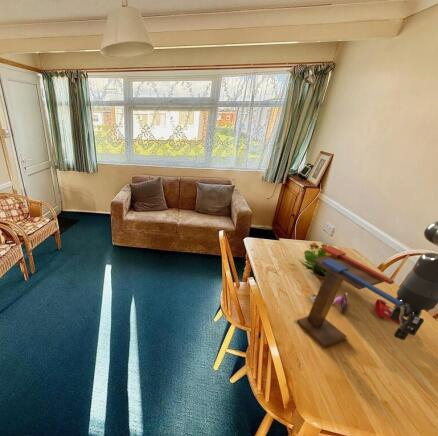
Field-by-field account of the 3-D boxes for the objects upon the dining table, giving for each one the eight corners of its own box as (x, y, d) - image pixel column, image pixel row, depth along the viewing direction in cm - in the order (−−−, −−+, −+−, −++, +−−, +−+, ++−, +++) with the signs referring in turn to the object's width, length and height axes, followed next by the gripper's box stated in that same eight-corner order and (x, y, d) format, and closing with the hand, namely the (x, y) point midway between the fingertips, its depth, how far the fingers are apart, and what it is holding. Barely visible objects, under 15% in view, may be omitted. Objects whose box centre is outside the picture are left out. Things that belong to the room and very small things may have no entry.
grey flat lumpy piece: (318, 295, 113) (319, 292, 112) (332, 307, 106) (333, 304, 105) (305, 296, 112) (307, 293, 111) (319, 309, 105) (320, 306, 104)
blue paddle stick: (405, 304, 66) (407, 301, 66) (395, 308, 65) (397, 305, 64) (330, 261, 85) (331, 258, 85) (321, 263, 84) (322, 260, 83)
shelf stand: (352, 342, 90) (389, 278, 76) (326, 352, 86) (359, 287, 73) (314, 311, 104) (340, 253, 90) (290, 319, 100) (313, 259, 86)
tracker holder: (409, 320, 98) (396, 320, 95) (400, 325, 100) (386, 326, 97) (382, 295, 107) (369, 295, 104) (374, 301, 110) (361, 300, 107)
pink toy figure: (343, 301, 101) (347, 291, 106) (329, 298, 105) (333, 288, 110) (344, 314, 102) (348, 304, 107) (330, 310, 106) (334, 301, 111)
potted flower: (354, 275, 127) (366, 248, 119) (349, 297, 111) (363, 269, 104) (302, 257, 142) (311, 232, 135) (292, 275, 127) (301, 248, 120)
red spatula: (395, 282, 74) (397, 279, 74) (387, 285, 73) (388, 282, 73) (329, 247, 93) (330, 245, 93) (321, 249, 92) (322, 247, 92)
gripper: (450, 310, 57) (418, 352, 64) (434, 280, 67) (408, 319, 74) (408, 296, 62) (382, 337, 68) (399, 270, 72) (377, 308, 79)
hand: (396, 328), depth 71 cm, fingers open, 8 cm apart
